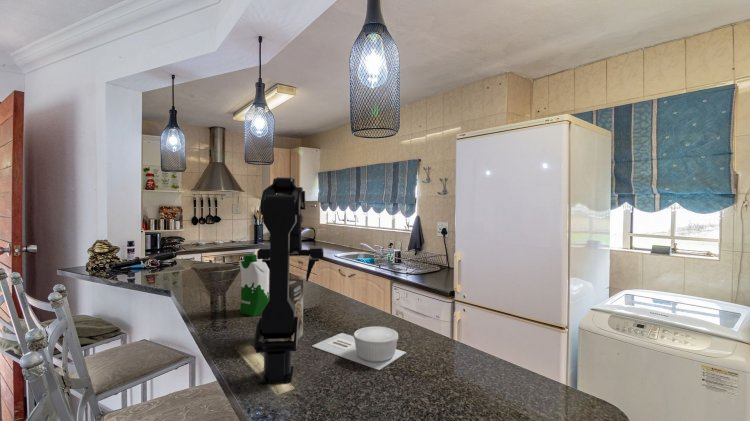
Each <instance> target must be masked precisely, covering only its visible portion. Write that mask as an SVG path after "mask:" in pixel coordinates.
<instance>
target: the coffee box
mask: <svg viewBox="0 0 750 421" xmlns="http://www.w3.org/2000/svg"><path fill="white" fill-rule="evenodd" d="M269 297H270V284H269ZM289 298H290V299H291V301H292V302H294V304H295V307H296V317H298V318H299V326H298V340H299V339H300V338H301V337H302V336H303V335H304V279H295V278H294V279H293V278H292V279H290V278H289ZM267 340H268V341H267V342H269V341H294V335H293V337H292V338H288V339H267Z"/></svg>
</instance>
